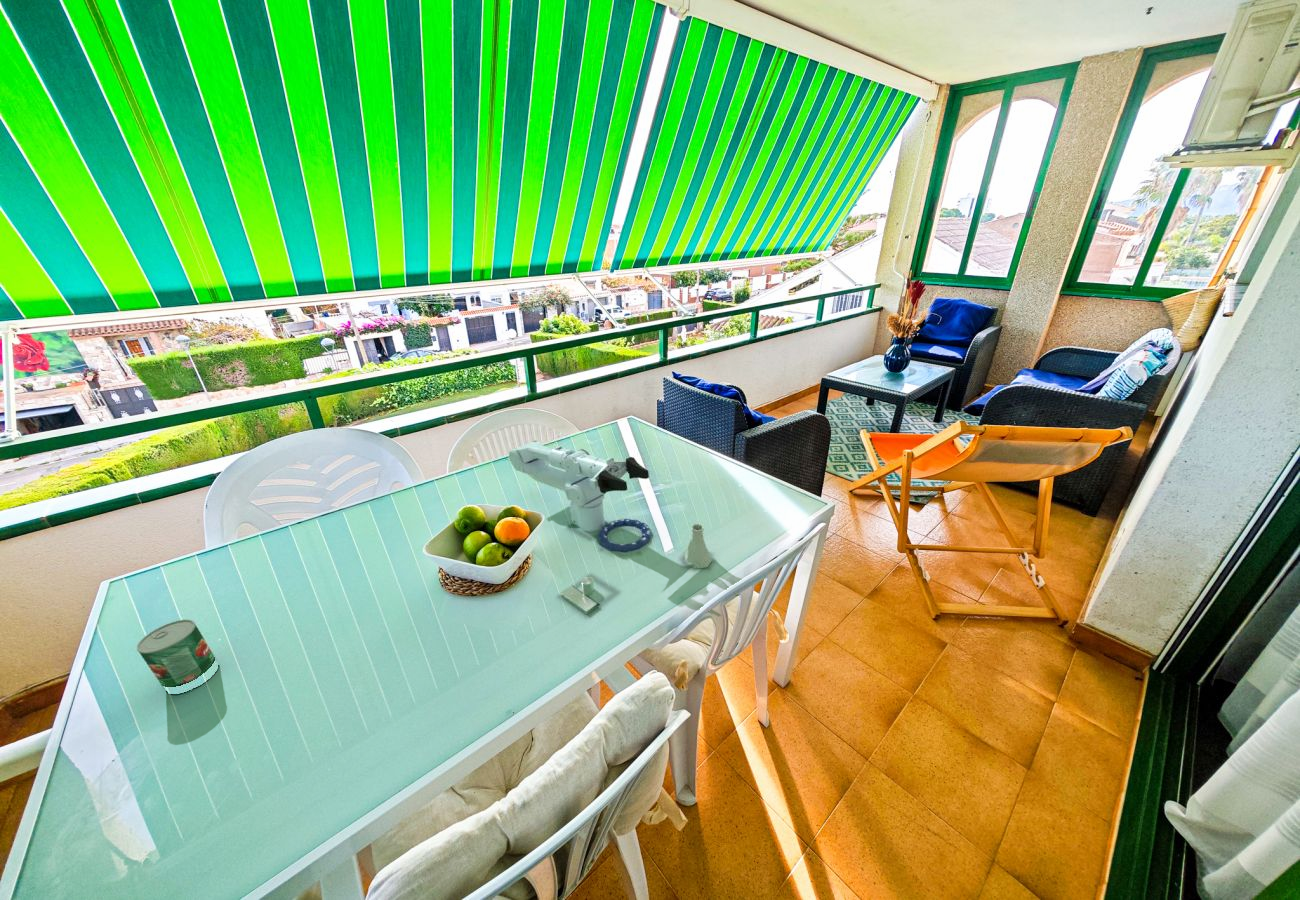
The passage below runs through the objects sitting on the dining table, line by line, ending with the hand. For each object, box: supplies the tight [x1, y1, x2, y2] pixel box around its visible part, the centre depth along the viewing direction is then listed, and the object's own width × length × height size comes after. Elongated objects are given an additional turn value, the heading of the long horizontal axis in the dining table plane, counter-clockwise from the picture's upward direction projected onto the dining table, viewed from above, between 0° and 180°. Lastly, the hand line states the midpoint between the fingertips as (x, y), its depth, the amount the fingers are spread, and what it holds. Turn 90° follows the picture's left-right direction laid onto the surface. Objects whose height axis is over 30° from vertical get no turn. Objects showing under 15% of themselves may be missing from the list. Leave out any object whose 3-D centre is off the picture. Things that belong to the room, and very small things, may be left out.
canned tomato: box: [136, 619, 216, 692], centre depth 87 cm, size 8×8×11 cm
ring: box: [597, 518, 653, 553], centre depth 125 cm, size 14×14×2 cm
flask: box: [684, 523, 713, 569], centre depth 114 cm, size 7×7×10 cm
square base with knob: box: [560, 576, 601, 616], centre depth 105 cm, size 9×9×4 cm
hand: (637, 480), depth 111 cm, fingers open, 7 cm apart
